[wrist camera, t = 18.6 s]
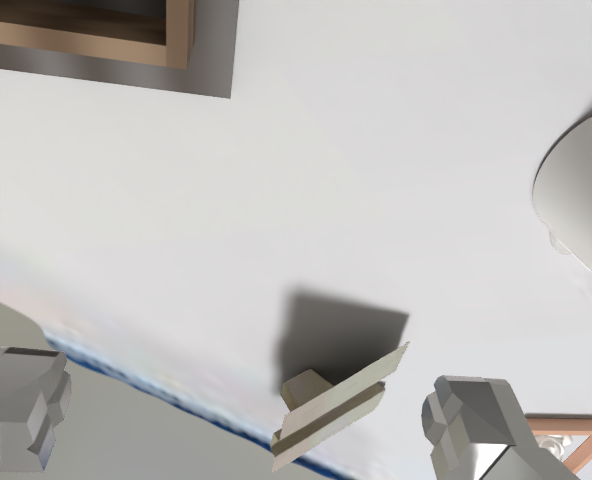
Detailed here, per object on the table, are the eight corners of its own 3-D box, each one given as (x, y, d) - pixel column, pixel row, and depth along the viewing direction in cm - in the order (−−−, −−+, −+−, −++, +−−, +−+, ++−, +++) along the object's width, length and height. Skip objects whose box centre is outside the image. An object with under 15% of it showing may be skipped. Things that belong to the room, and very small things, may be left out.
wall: (348, 288, 58) (244, 374, 49) (413, 340, 54) (313, 445, 44) (325, 362, 71) (240, 441, 62) (376, 408, 67) (293, 500, 58)
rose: (523, 485, 77) (511, 462, 72) (510, 459, 81) (498, 434, 75) (585, 467, 75) (577, 441, 69) (570, 440, 78) (562, 414, 73)
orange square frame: (613, 419, 75) (621, 431, 73) (561, 470, 84) (567, 481, 83) (520, 418, 72) (526, 430, 70) (477, 471, 82) (482, 482, 80)
